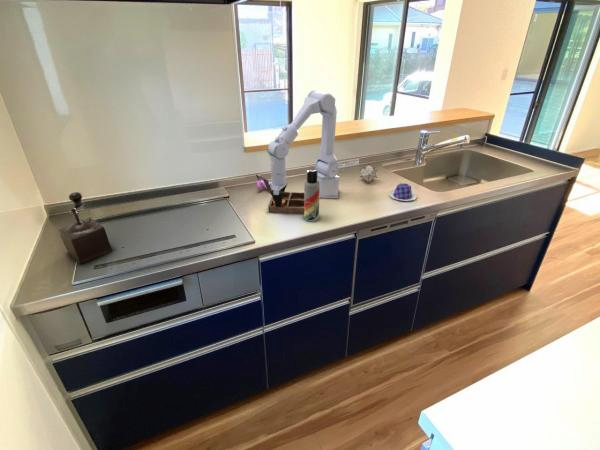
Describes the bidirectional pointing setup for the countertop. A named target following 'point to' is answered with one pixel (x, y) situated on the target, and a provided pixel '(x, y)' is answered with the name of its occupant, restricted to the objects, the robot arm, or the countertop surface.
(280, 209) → the grid
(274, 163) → the robot arm
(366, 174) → the grey spiky ball
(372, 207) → the countertop surface
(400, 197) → the pudding
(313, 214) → the lotion bottle
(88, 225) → the brown coffee grinder
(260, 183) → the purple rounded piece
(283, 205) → the token
